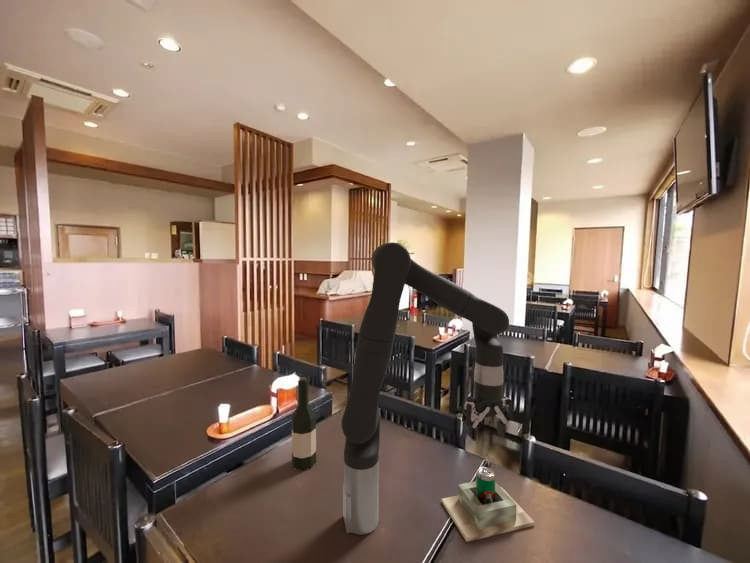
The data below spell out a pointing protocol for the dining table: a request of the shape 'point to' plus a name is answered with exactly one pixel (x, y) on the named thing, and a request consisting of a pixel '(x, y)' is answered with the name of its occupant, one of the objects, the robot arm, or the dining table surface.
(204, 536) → the dining table surface
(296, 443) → the wine bottle
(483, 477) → the soda can
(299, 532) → the dining table surface
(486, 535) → the holder
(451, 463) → the dining table surface
